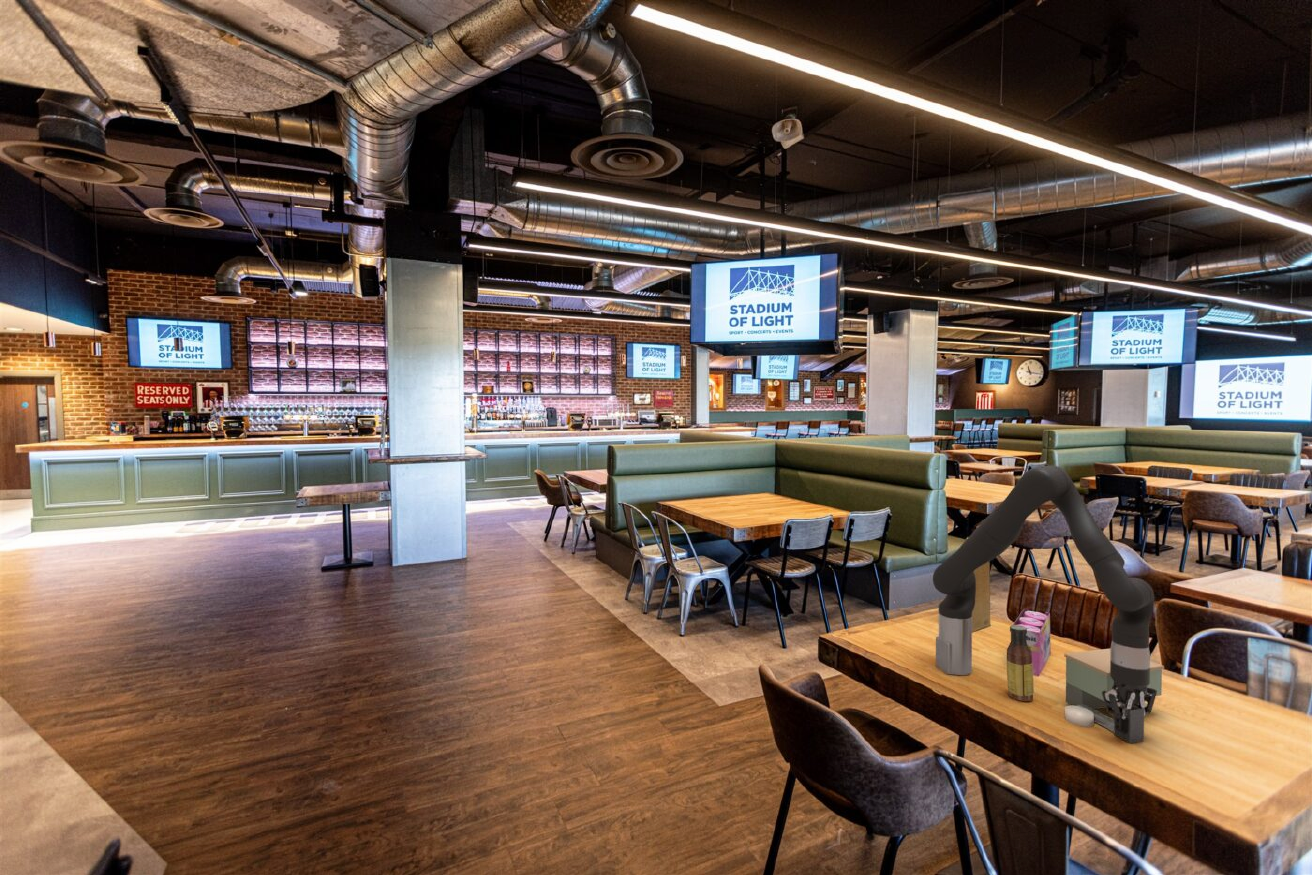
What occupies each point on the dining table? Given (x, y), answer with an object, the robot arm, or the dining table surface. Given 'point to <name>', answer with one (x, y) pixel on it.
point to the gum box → (1036, 636)
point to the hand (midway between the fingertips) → (1128, 730)
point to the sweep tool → (1133, 723)
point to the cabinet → (1097, 677)
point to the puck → (1079, 716)
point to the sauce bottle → (1019, 665)
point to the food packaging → (982, 598)
